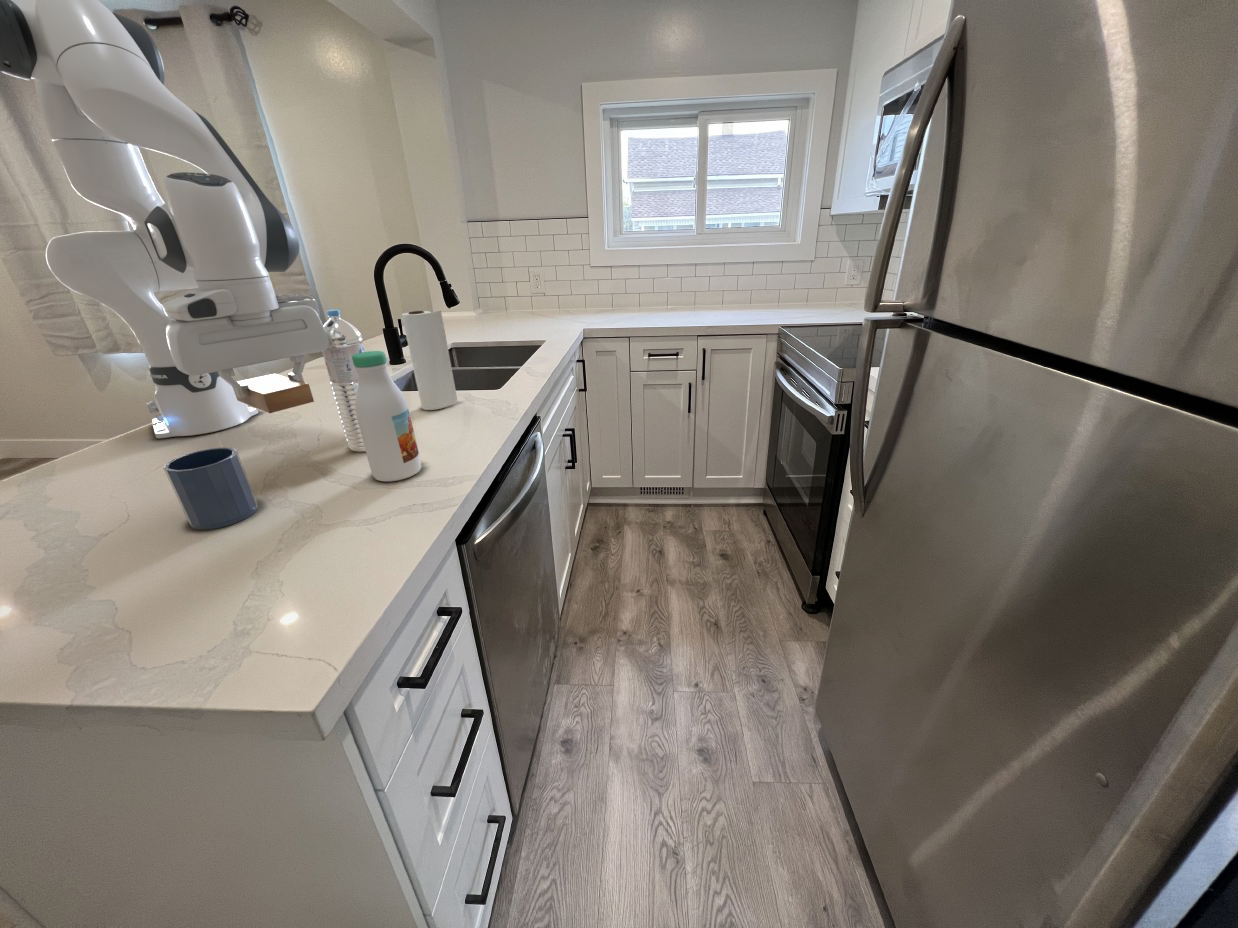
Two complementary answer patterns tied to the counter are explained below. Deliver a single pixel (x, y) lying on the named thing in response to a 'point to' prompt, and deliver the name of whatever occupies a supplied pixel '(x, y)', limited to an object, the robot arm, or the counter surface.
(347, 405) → the water bottle
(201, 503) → the cup
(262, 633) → the counter surface
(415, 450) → the milk bottle
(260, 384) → the wooden block
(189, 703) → the counter surface
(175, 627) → the counter surface
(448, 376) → the paper towel roll
